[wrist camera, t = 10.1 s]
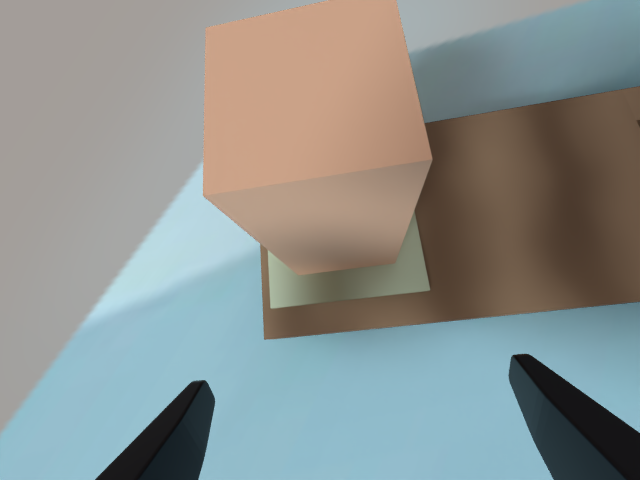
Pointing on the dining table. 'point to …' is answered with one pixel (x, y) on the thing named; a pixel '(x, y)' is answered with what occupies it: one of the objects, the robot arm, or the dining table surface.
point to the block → (315, 132)
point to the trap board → (494, 226)
